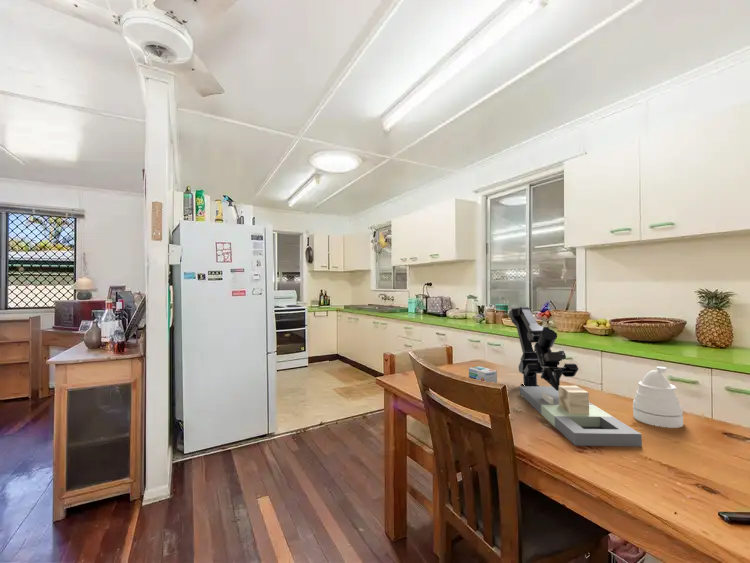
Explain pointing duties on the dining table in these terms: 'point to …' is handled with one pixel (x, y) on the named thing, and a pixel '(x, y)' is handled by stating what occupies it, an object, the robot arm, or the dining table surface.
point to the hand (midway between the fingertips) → (558, 390)
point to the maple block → (574, 399)
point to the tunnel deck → (581, 421)
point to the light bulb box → (483, 374)
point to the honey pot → (657, 401)
